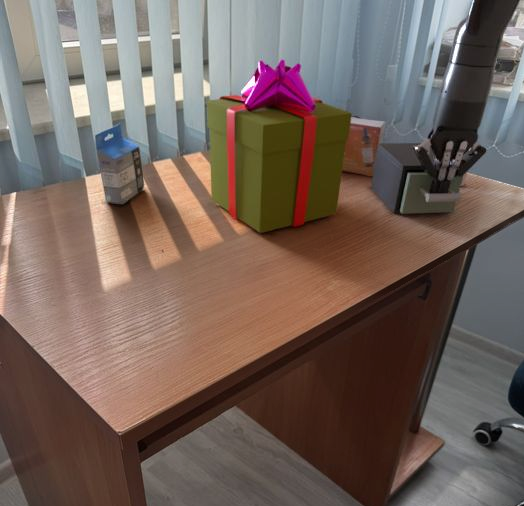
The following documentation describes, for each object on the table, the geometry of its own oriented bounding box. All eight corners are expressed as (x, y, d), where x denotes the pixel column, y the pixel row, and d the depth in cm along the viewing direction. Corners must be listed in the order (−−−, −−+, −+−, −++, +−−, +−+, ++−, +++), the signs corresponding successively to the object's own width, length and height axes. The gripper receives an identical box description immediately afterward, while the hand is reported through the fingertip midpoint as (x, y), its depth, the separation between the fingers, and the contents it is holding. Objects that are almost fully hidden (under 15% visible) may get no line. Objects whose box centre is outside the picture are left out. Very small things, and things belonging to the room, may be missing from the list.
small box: (337, 171, 117) (344, 121, 111) (344, 163, 122) (350, 116, 115) (372, 176, 115) (381, 126, 109) (377, 169, 120) (386, 120, 113)
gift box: (271, 182, 110) (277, 47, 95) (349, 213, 99) (370, 65, 83) (195, 206, 98) (188, 57, 83) (273, 244, 87) (282, 79, 72)
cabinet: (450, 211, 101) (462, 164, 96) (393, 213, 99) (403, 165, 94) (422, 186, 112) (432, 142, 106) (370, 187, 110) (378, 143, 104)
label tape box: (122, 205, 98) (113, 137, 90) (103, 202, 98) (93, 134, 91) (145, 189, 104) (138, 125, 97) (127, 186, 105) (119, 122, 98)
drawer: (465, 222, 95) (476, 183, 91) (411, 224, 94) (420, 184, 89) (426, 188, 108) (435, 152, 104) (379, 189, 107) (385, 153, 102)
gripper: (434, 99, 80) (410, 208, 90) (513, 100, 82) (480, 206, 92) (415, 89, 85) (395, 191, 96) (489, 90, 87) (461, 190, 98)
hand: (437, 198), depth 94 cm, fingers closed
